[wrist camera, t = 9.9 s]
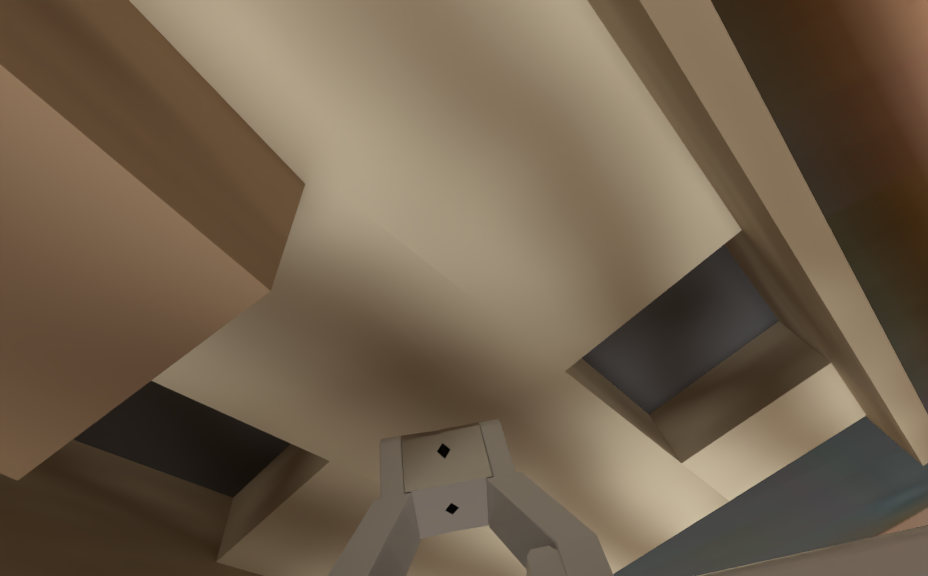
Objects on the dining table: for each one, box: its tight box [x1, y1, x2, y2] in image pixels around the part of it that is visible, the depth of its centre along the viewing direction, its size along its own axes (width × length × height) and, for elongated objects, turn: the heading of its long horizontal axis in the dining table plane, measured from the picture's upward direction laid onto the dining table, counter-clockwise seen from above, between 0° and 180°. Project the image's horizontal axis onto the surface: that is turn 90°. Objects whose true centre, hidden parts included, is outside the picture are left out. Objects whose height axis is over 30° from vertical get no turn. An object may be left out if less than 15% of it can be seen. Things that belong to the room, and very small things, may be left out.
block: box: [0, 0, 305, 481], centre depth 7 cm, size 5×5×4 cm
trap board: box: [0, 0, 928, 576], centre depth 13 cm, size 20×27×4 cm
